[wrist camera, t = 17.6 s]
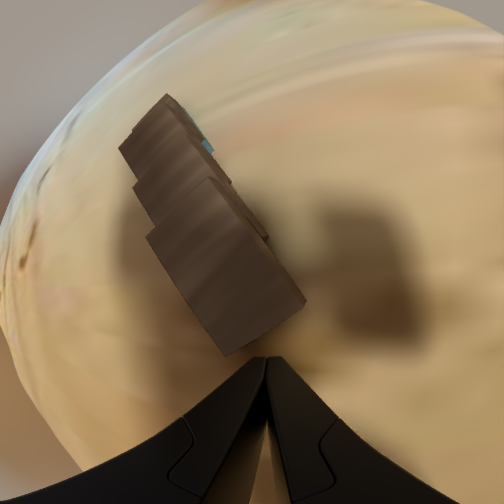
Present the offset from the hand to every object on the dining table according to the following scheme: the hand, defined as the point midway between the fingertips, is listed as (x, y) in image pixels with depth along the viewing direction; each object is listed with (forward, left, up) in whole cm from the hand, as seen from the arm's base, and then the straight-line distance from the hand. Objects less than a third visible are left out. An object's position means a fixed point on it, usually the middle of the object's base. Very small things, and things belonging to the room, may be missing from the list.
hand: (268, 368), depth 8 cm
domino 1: (+1, +3, -6) cm, 7 cm away
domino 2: (+5, +6, -6) cm, 10 cm away
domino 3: (+9, +8, -6) cm, 14 cm away
